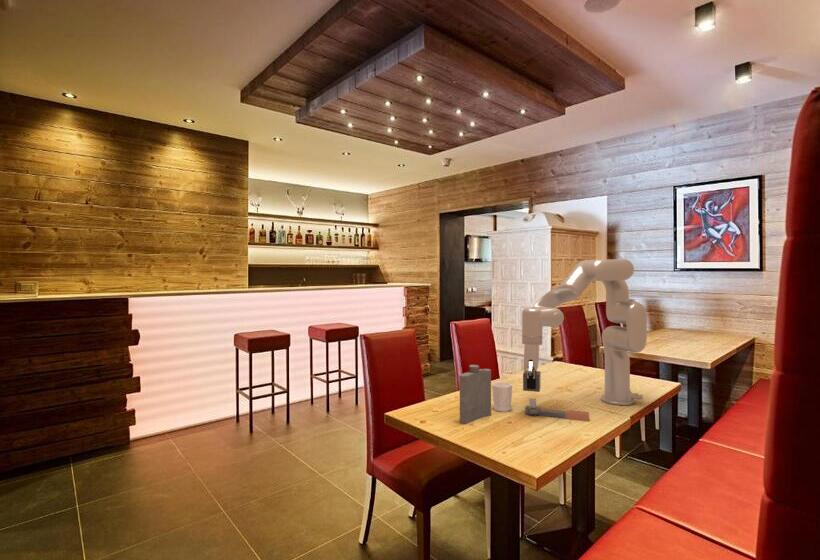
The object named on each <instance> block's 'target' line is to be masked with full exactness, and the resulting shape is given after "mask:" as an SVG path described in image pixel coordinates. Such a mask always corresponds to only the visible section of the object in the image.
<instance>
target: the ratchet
mask: <svg viewBox="0 0 820 560" xmlns="http://www.w3.org/2000/svg"><path fill="white" fill-rule="evenodd" d="M528 400H529V401H528V405H526V406H525V407H524V411H525V413H524V415H526V416H529V417H543V418H554V419H562V420H563V419H564V420H570V421H571V420H572V421H578V422H579V421H581V422H588V421H589V422H590V411H581V410H569V409H565V410H558V409H548V408H541V407H540V406H538V405H537V398H531V397H529V399H528Z"/></svg>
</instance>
